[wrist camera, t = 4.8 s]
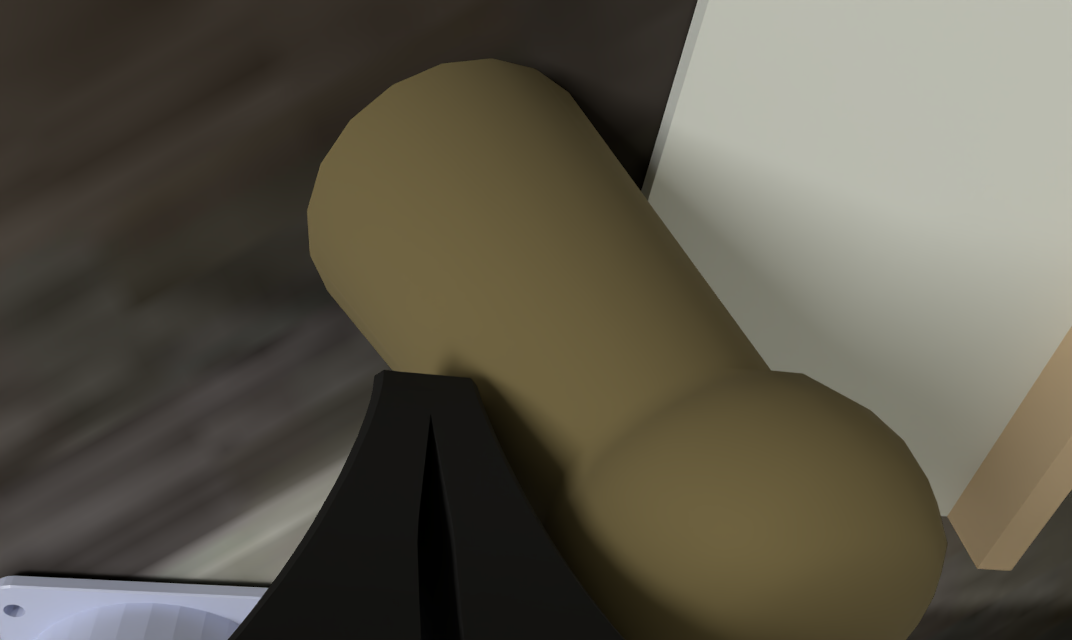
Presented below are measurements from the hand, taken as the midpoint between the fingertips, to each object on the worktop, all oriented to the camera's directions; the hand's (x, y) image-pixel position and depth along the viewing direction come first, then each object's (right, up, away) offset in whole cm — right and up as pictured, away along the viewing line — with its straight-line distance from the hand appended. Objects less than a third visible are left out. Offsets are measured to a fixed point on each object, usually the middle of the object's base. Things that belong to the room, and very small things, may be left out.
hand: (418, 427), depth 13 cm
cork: (0, +4, +5) cm, 7 cm away
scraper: (+10, +3, +8) cm, 13 cm away
